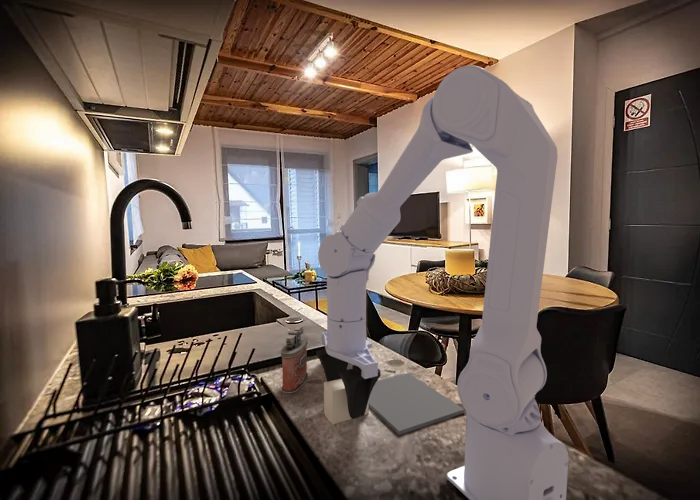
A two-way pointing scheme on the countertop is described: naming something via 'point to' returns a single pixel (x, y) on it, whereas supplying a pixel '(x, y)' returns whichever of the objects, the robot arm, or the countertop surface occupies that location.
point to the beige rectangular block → (337, 402)
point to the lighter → (294, 363)
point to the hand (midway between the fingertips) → (346, 404)
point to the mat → (410, 403)
